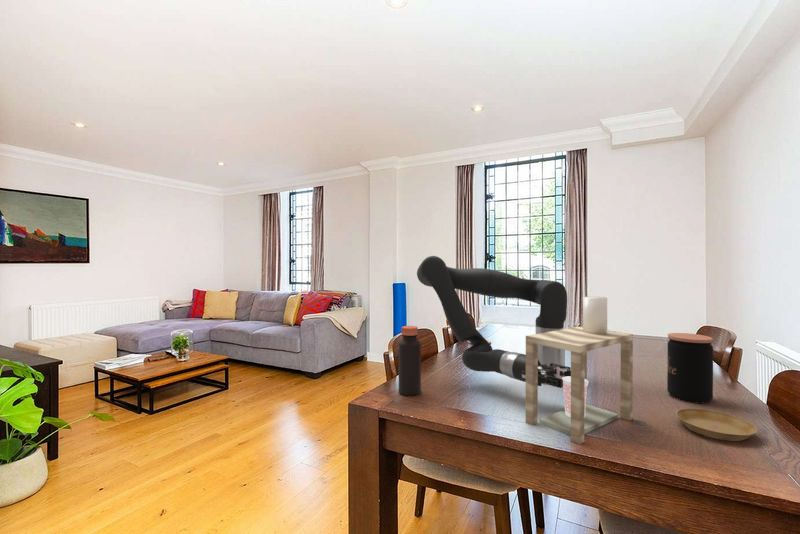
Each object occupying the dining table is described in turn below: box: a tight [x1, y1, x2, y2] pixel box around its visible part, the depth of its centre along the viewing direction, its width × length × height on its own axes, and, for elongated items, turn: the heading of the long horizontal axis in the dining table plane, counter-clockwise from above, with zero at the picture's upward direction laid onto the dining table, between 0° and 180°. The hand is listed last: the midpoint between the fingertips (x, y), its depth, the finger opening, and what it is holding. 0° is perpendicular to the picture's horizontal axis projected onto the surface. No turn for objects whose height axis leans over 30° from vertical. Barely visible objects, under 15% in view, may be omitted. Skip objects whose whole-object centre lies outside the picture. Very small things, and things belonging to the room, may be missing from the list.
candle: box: [582, 296, 608, 334], centre depth 99 cm, size 6×6×9 cm
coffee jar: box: [666, 332, 714, 404], centre depth 111 cm, size 11×11×18 cm
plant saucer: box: [675, 407, 758, 442], centre depth 90 cm, size 15×15×3 cm
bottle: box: [398, 325, 422, 397], centre depth 116 cm, size 7×7×20 cm
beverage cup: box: [562, 376, 589, 418], centre depth 96 cm, size 6×6×14 cm
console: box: [525, 326, 634, 445], centre depth 95 cm, size 24×14×22 cm, turn 124°
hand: (572, 380), depth 97 cm, fingers open, 8 cm apart
